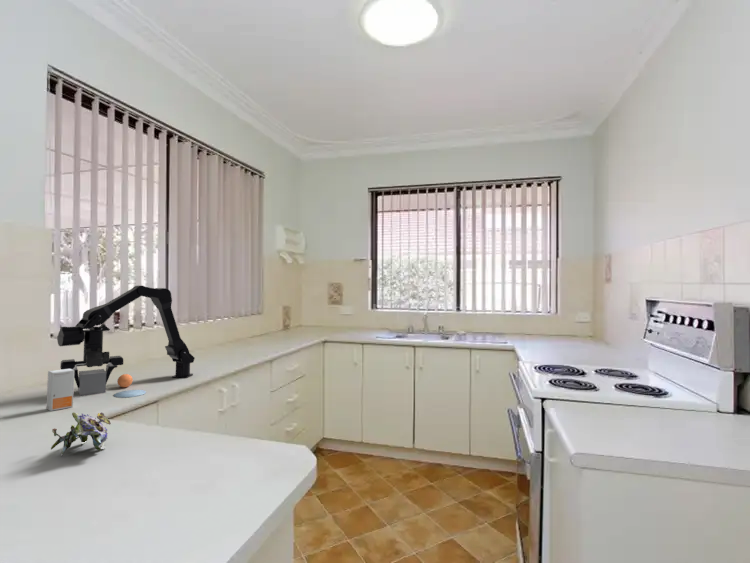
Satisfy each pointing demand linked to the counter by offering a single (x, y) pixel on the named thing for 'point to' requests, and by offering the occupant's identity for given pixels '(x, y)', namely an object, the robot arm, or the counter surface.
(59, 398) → the skincare box
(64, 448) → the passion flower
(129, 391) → the disc
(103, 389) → the matte grey cuboid
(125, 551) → the counter surface
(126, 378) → the ball
